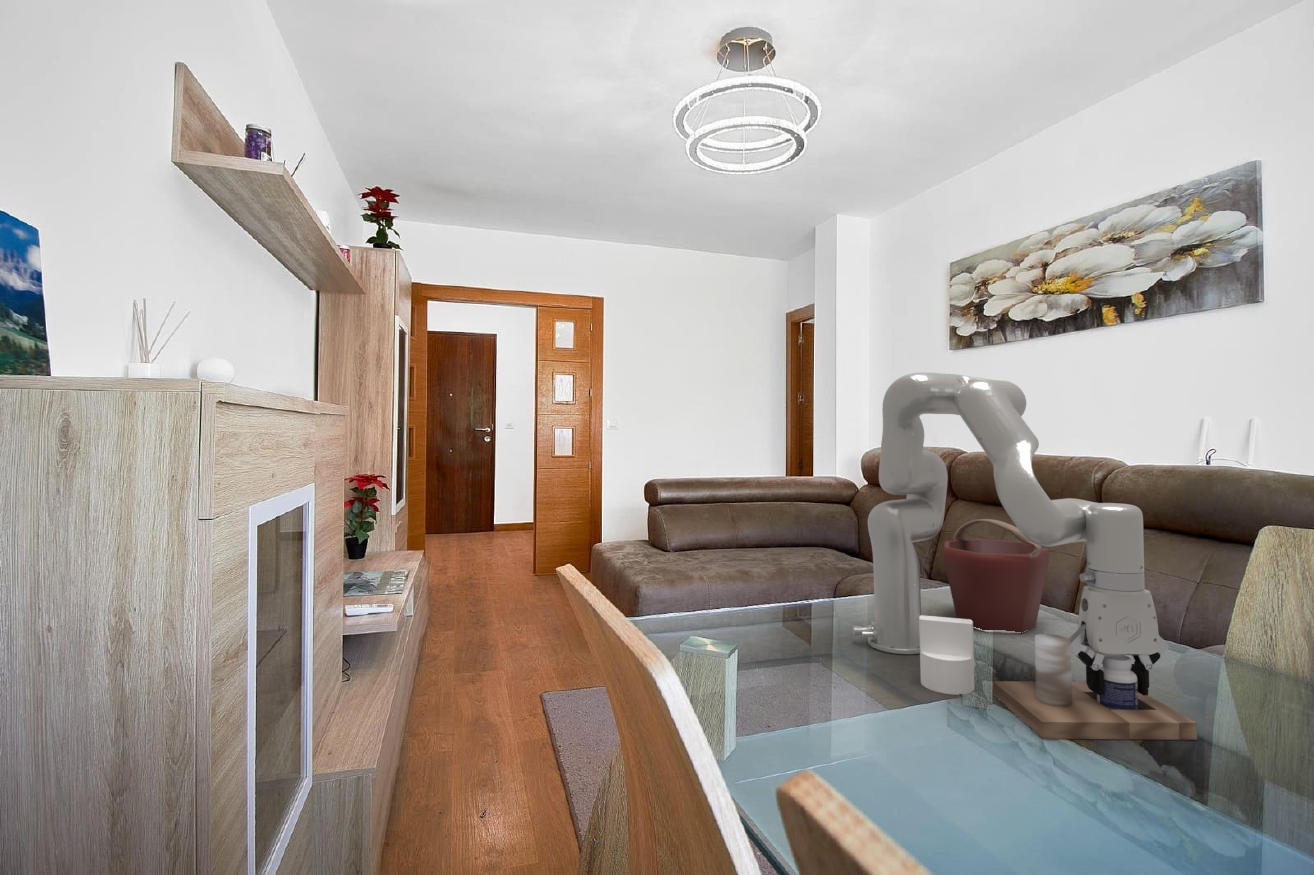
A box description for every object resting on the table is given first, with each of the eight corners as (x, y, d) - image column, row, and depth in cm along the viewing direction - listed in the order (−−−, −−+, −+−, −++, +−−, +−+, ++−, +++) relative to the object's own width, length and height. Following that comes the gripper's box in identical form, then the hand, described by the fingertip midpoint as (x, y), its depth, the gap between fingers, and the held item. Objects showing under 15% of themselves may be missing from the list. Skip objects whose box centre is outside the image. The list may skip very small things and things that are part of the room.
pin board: (1042, 738, 96) (1040, 655, 96) (993, 695, 112) (991, 624, 112) (1196, 739, 94) (1194, 655, 94) (1124, 696, 110) (1122, 623, 110)
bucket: (1070, 638, 141) (1067, 526, 141) (970, 640, 141) (967, 528, 141) (1010, 609, 165) (1008, 513, 165) (925, 611, 166) (922, 515, 166)
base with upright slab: (973, 679, 119) (972, 615, 119) (975, 697, 111) (973, 628, 111) (921, 673, 123) (920, 611, 123) (919, 690, 115) (917, 623, 115)
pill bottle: (1145, 725, 99) (1143, 663, 99) (1107, 723, 101) (1105, 661, 101) (1127, 711, 105) (1125, 651, 105) (1091, 709, 106) (1089, 650, 106)
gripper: (1073, 586, 99) (1075, 701, 99) (1189, 585, 98) (1191, 702, 98) (1046, 575, 107) (1049, 683, 107) (1154, 575, 106) (1156, 683, 106)
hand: (1117, 691), depth 103 cm, fingers open, 6 cm apart
